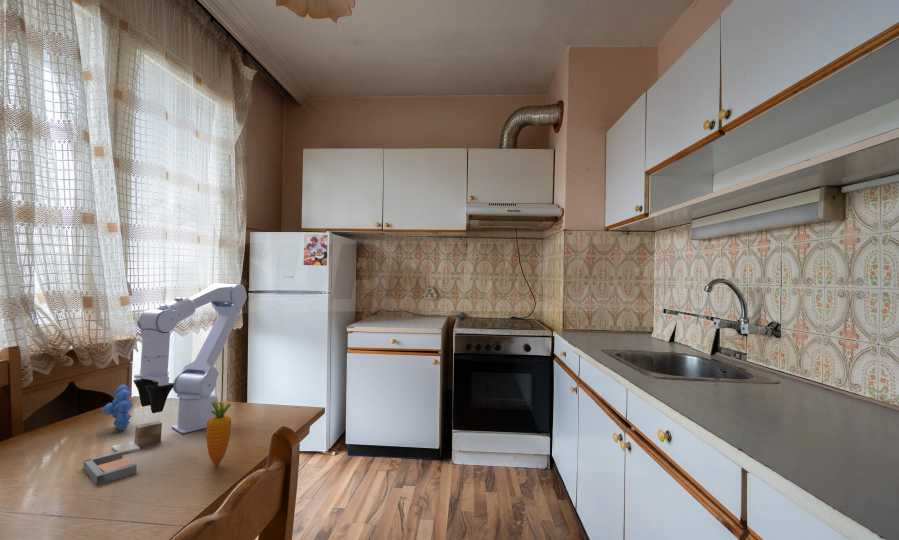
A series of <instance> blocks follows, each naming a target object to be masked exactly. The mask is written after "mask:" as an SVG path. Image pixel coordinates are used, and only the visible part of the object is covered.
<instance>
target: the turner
mask: <svg viewBox="0 0 899 540" xmlns="http://www.w3.org/2000/svg"><path fill="white" fill-rule="evenodd" d="M162 427H163V422H162V421H160V420H156V421H152V422H146V423H143V424H138V425H135V427H134V428H135V429H134V441H128V442H124V443H120V444H116V445H115V444H114V445H112V446H111V449H112V451H114V453H115V452H119V451H122V452H123V455H125V454H129V453H133V452H137V451H140V449H141V448H142V447H146V446H150V445H154V444H157V443H162V429H163V428H162Z"/></svg>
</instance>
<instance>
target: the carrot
mask: <svg viewBox="0 0 899 540" xmlns="http://www.w3.org/2000/svg"><path fill="white" fill-rule="evenodd" d="M211 404H212V405H213V407H214V409H215V411H216V412H215V411H214V410H211V411H210V412H212V413H213V414H214V415H216V416H214V417H212V418H210V419H209V420H208V421H207V428H206V434H205V435H206V446H207V447H206V448H207V451H208V452H207V453H208V456H209V458H210V460H211V462H212V464H213V465H214V466H215V467H218V465H220V464H221V462H222V460H223V458H224V457H225V454H226V452H227V450H228V445H229V442H230V436H231V430H232V429H231V428H232V418H231V417H230V416H228V415H226V413H227V411H228V410H229V408H230V407H231V405H232V404H231V403H230V402H227V404H226V405H224V402H222V401H221V402H218V404H217V402H216V401H213V402H212V403H211Z"/></svg>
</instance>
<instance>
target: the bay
mask: <svg viewBox="0 0 899 540" xmlns="http://www.w3.org/2000/svg"><path fill="white" fill-rule="evenodd" d="M123 455H124V454H123V452H122V451H119V452H115V451H114V452H111V453H108V454H105V455H101V456H96V457H92V458H88V459H85V460H83V467H82V468H83V471H84V472H85V473H86V474H87V475H88V477H89V478H90V479H91V481H92V482H93V483H94V484H95V485H96V486H98V485H102V484H105V483H108V482H112V481H115V480H117V479H121V478H124V477H125V478H126V477H128V476H131V475H134V474H137V466H138V465H137V464H136V463H134V464H132V465H128V466H125V467H121V468H118V469H114V470H111V471H107V472H104V473H103V472H102V471H101V469H100V468H99V467H98V465H101V464H105V463H108V462H112V461H115V460H119V459H122V458H124V457H123Z"/></svg>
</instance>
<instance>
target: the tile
mask: <svg viewBox="0 0 899 540" xmlns="http://www.w3.org/2000/svg"><path fill="white" fill-rule="evenodd" d="M132 464H135V463H133V462H132V461H131V460H129V459H128V458H126V457H123V458H122V459H119V460H115V461H112V462H108V463H105V464H101V465H98V467H99V468H100V469H101V471H102V472H103V473H104V472H107V471H111V470H114V469H118V468H121V467H125V466H128V465H132Z"/></svg>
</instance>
